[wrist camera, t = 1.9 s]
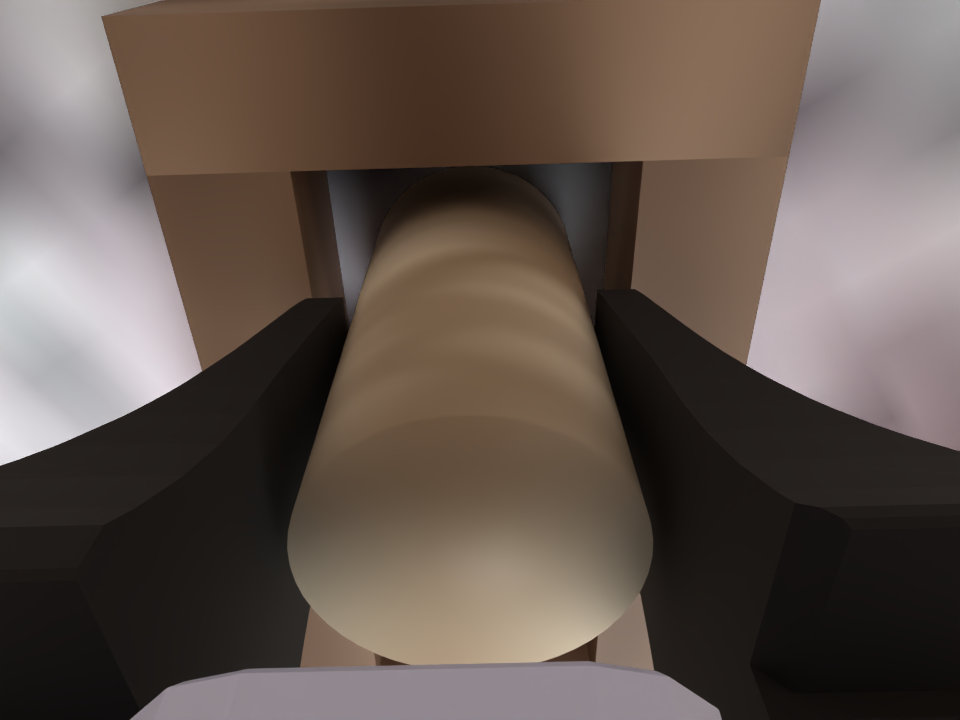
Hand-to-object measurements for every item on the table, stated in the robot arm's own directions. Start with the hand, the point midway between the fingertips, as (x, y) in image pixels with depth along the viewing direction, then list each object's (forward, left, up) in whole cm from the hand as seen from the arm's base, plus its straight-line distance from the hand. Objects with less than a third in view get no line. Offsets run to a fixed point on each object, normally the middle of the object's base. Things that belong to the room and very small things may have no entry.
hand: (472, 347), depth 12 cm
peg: (0, 0, -3) cm, 3 cm away
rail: (0, +8, -3) cm, 9 cm away
